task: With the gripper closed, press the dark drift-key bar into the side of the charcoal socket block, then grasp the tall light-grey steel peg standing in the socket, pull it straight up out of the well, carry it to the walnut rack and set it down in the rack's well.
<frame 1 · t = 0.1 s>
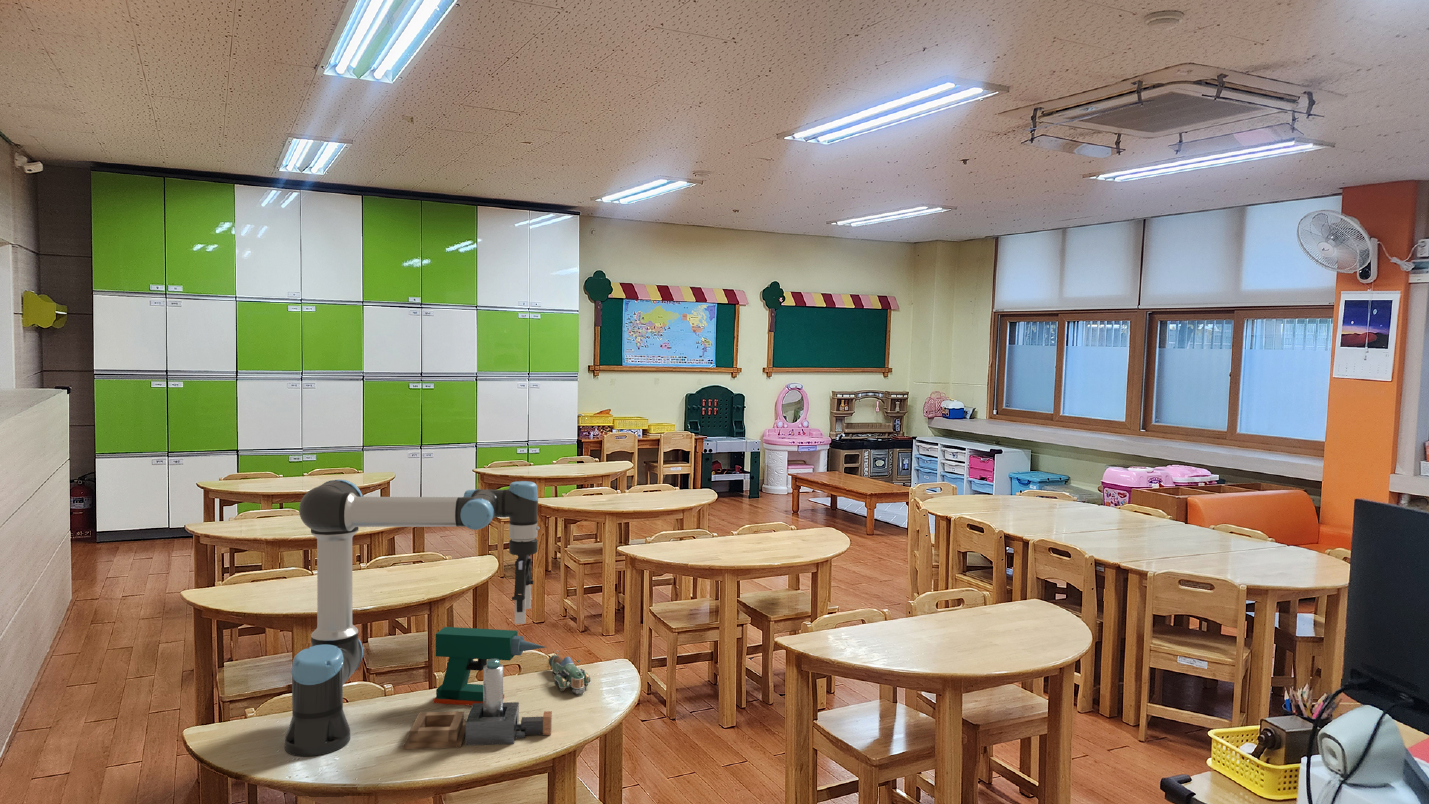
hand: (522, 615, 238), 28 cm above the table, fingers open, 13 cm apart
hoverbike: (565, 682, 265), on the table
rack: (437, 736, 226), on the table
power tool: (492, 702, 249), on the table
peg: (493, 697, 227), in the socket block
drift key: (536, 723, 229), point 3 cm above the table, slide at 0.0 cm
socket block: (492, 734, 227), on the table
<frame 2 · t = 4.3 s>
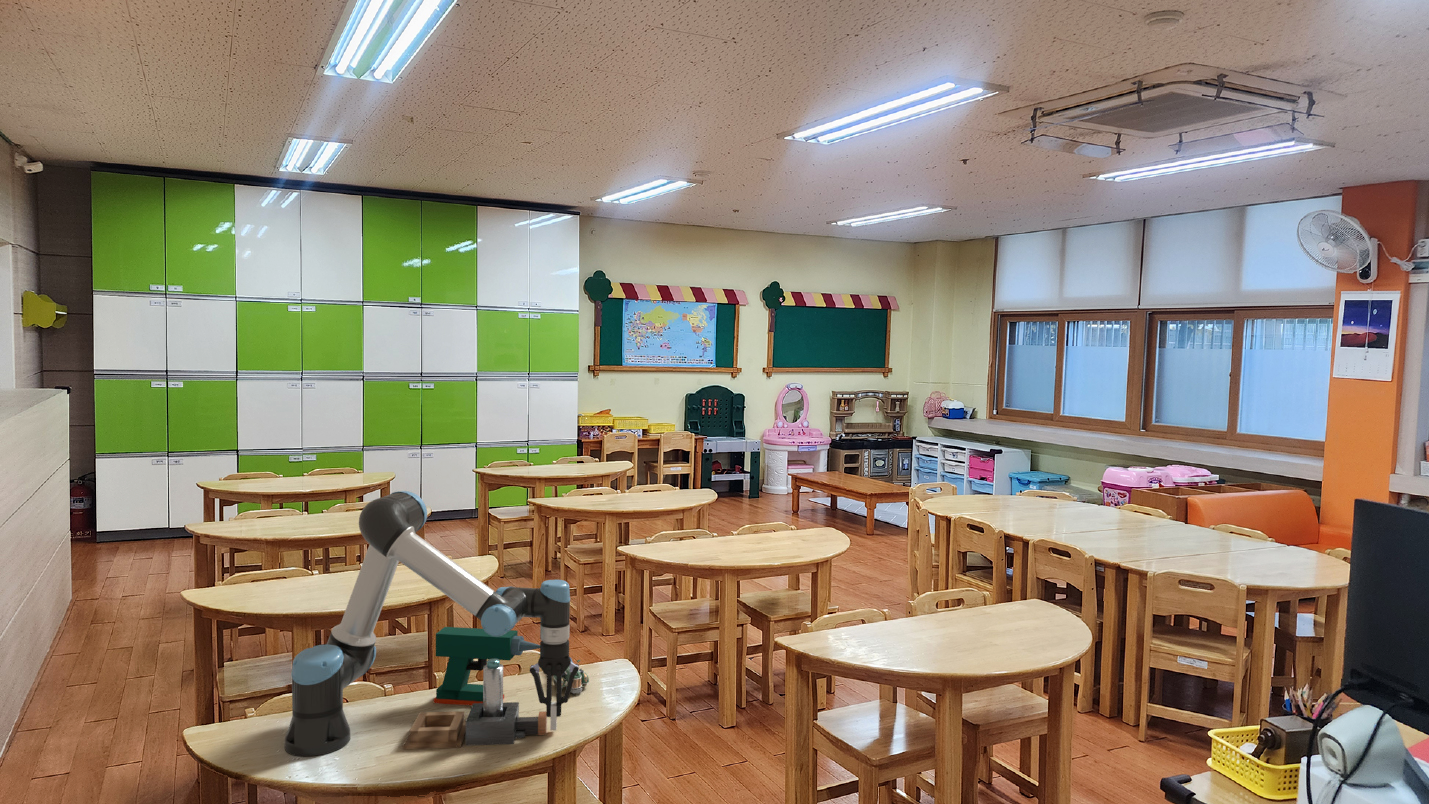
hand: (553, 728, 229), 1 cm above the table, fingers closed
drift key: (531, 723, 228), point 3 cm above the table, slide at 1.3 cm, touching gripper
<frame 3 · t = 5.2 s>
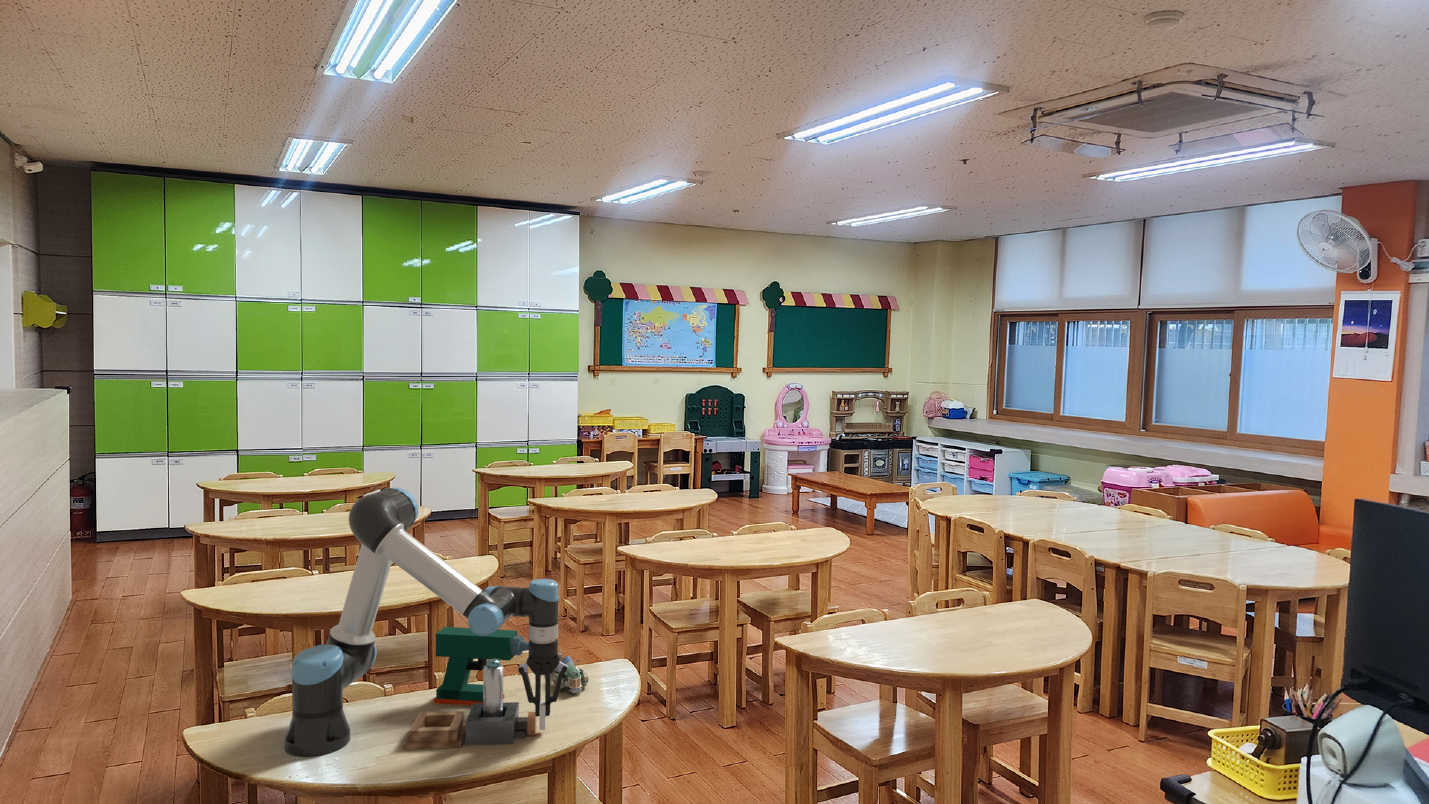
hand: (542, 727, 229), 1 cm above the table, fingers closed
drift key: (520, 723, 228), point 3 cm above the table, slide at 4.0 cm, touching gripper
everything else where it was.
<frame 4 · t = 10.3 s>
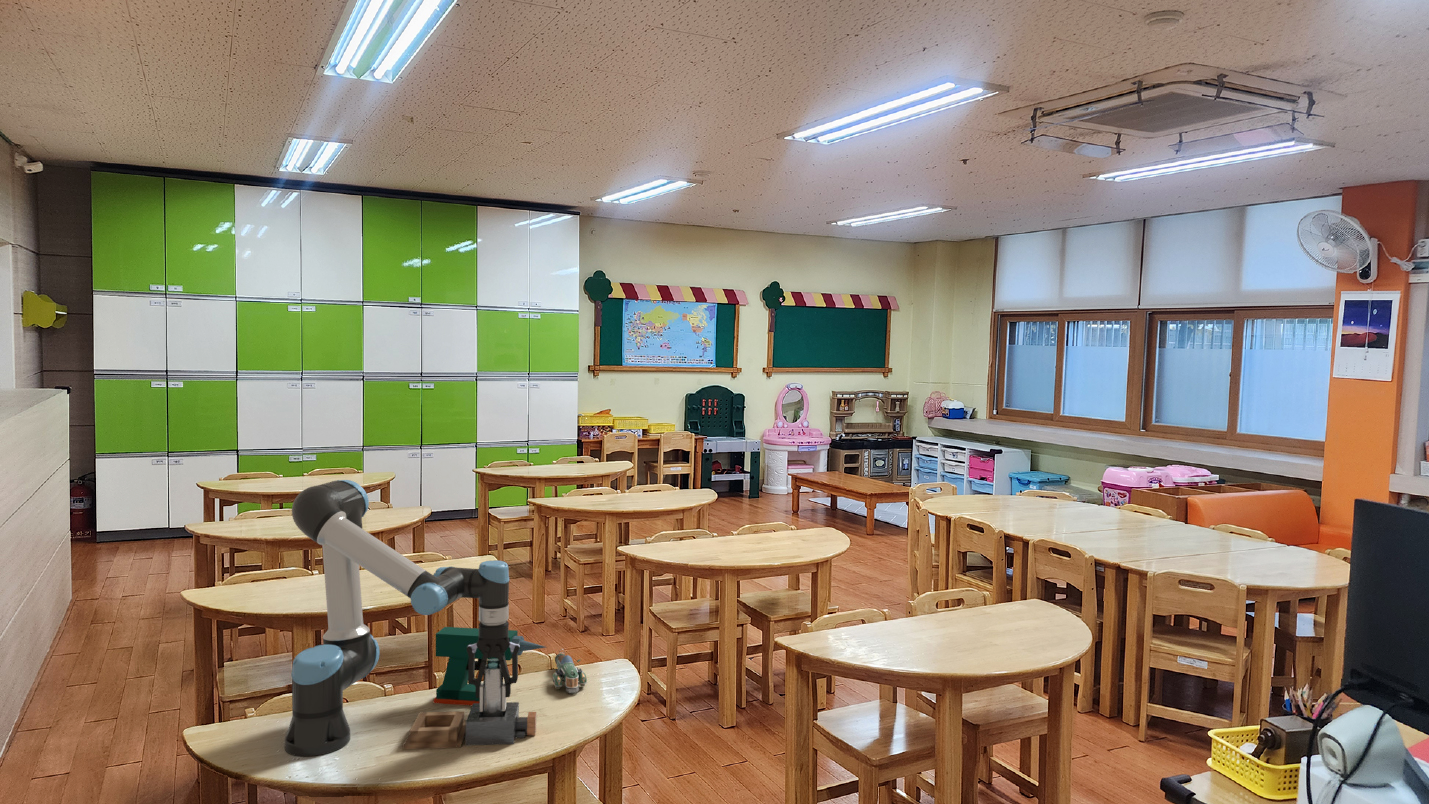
hand: (493, 709, 227), 7 cm above the table, fingers closed on peg, 5 cm apart
peg: (493, 697, 227), in the socket block, touching gripper
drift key: (520, 723, 228), point 3 cm above the table, slide at 4.0 cm
when the fingers open (9 cm above the table, at t = 15.5 s): peg drops 1 cm, resting on rack.
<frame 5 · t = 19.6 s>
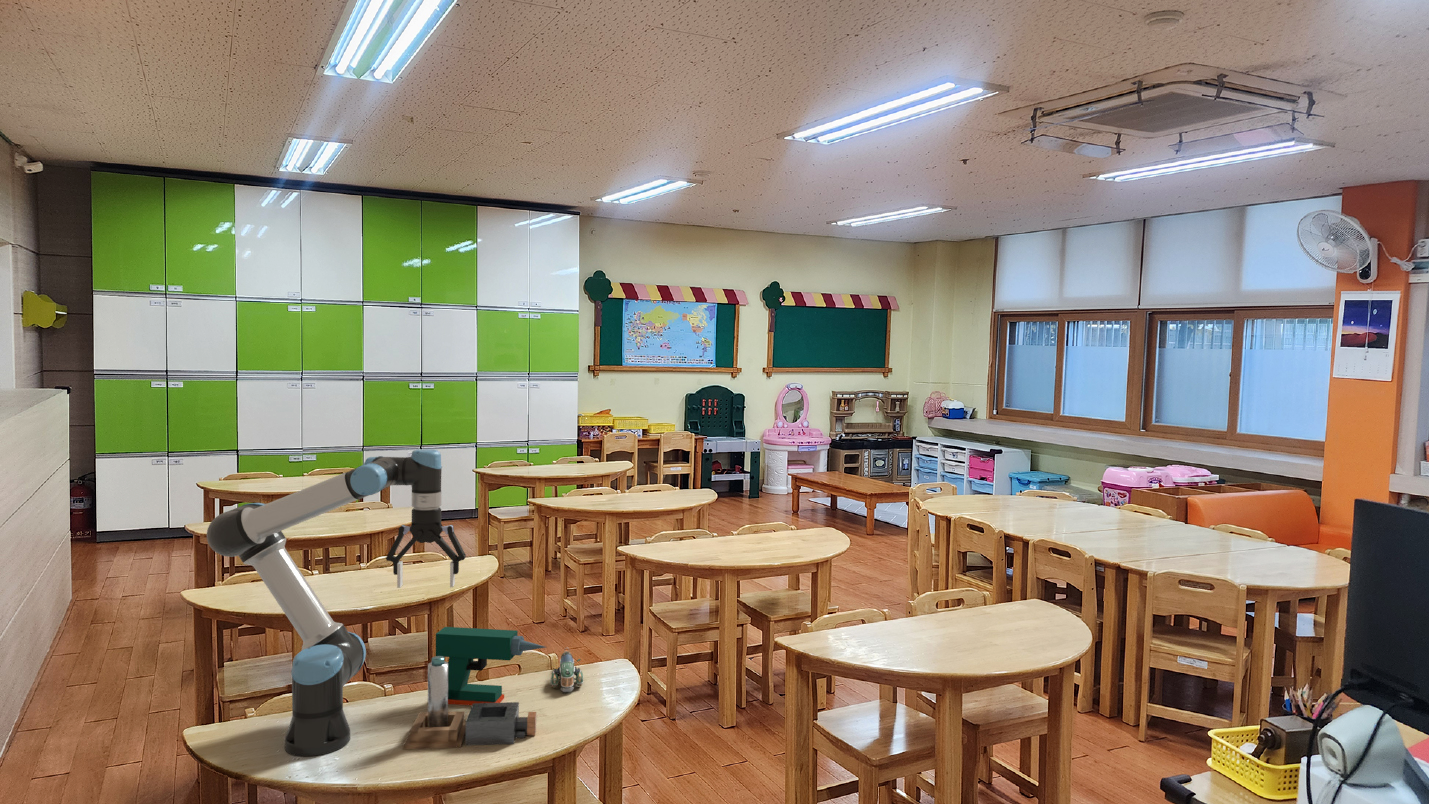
hand: (426, 586, 233), 37 cm above the table, fingers open, 13 cm apart
peg: (437, 695, 225), in the rack, point 11 cm above the table
at the end: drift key slide at 4.0 cm; peg 0.0 cm off-centre on the rack, point 10.8 cm above the rack's base; peg tilted 0° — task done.
